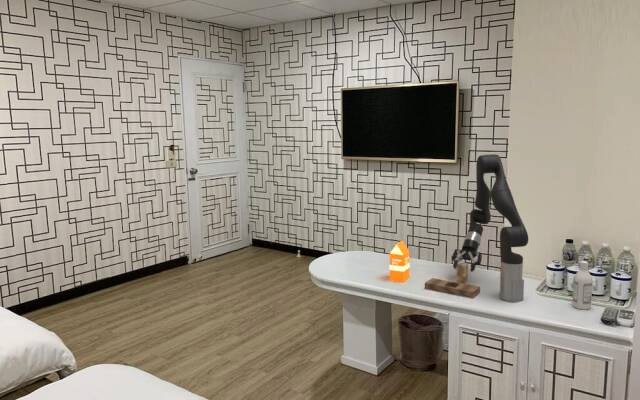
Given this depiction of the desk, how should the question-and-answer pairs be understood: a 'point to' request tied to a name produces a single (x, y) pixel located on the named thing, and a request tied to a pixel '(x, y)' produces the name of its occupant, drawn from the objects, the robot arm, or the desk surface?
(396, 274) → the orange juice
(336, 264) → the desk surface
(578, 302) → the bath foam
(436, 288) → the brown wooden slotted board
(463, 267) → the tan cylinder
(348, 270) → the desk surface
